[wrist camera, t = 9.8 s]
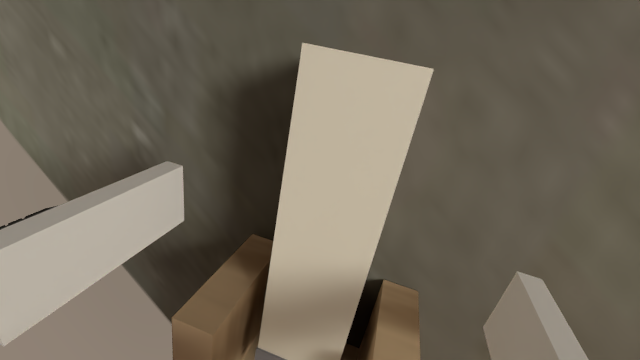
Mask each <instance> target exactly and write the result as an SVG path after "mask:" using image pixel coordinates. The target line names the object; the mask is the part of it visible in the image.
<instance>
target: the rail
mask: <svg viewBox="0 0 640 360" xmlns="http://www.w3.org/2000/svg"><path fill="white" fill-rule="evenodd" d="M433 70H434V69H431V68H426V67H421V66H416V65H411V64H406V63H401V62H396V61H391V60H386V59H381V58H376V57H371V56H366V55H361V54H356V53H351V52H346V51H341V50H336V49H331V48H326V47H321V46H316V45H311V44H306V43H302V50H301V57H300V63H299V70H298V77H297V84H296V91H295V97H294V104H293V111H292V118H291V125H290V132H289V138H288V145H287V152H286V159H285V166H284V172H283V179H282V186H281V193H280V200H279V207H278V213H277V220H276V227H275V234H274V241H273V247H272V254H271V261H270V268H269V275H268V282H267V288H266V295H265V302H264V309H263V316H262V322H261V329H260V336H259V343H258V346H257V348H256V352H255V359H254V360H340V359H341V356H342V353H343V350H344V347H345V344H346V340H347V337H348V334H349V331H350V328H351V325H352V322H353V319H354V316H355V312H356V309H357V306H358V303H359V300H360V297H361V294H362V291H363V288H364V284H365V281H366V278H367V275H368V272H369V269H370V266H371V263H372V260H373V257H374V253H375V250H376V247H377V244H378V241H379V238H380V235H381V232H382V229H383V225H384V222H385V219H386V216H387V213H388V210H389V207H390V204H391V201H392V198H393V194H394V191H395V188H396V185H397V182H398V179H399V176H400V173H401V170H402V166H403V163H404V160H405V157H406V154H407V151H408V148H409V145H410V142H411V138H412V135H413V132H414V129H415V126H416V123H417V120H418V117H419V114H420V111H421V107H422V104H423V101H424V98H425V95H426V92H427V89H428V86H429V83H430V79H431V76H432V73H433Z"/></svg>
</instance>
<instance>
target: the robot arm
mask: <svg viewBox="0 0 640 360" xmlns="http://www.w3.org/2000/svg"><path fill="white" fill-rule="evenodd" d="M183 221H184V194H183V166H181V165H178V164H175V163H172V162H169V161H166V162H164V163H161V164H159V165H157V166H154V167H152V168H149V169H147V170H144V171H142V172H139V173H137V174H135V175H132V176H130V177H127V178H125V179H122V180H120V181H118V182H115V183H113V184H110V185H108V186H105V187H103V188H100V189H98V190H96V191H93V192H91V193H88V194H86V195H83V196H81V197H79V198H76V199H74V200H71V201H69V202H66V203H64V204H62V205H59V206H55V207H51V208H46V209H43V210H41V211H39V212H36V213H33V214H31V215H28V216H26V217H25V218H24V219H18V220H16V221H13V222H11V223H9V224H8V225H7V226H5V225H4V226H1V227H0V344H1V345H2V346H5V345H6V344H7V343H9V342H10V341H12V340H13V339H15V338H16V337H18V336H19V335H20V334H22V333H24V332H25V331H26V330H28V329H29V328H30V327H32V326H33V325H35V324H36V323H38V322H39V321H41V320H42V319H44V318H45V317H47V316H48V315H49V314H51V313H52V312H54V311H55V310H57V309H58V308H59V307H61V306H62V305H64V304H65V303H66V302H68V301H69V300H71V299H72V298H74V297H75V296H77V295H78V294H79V293H81V292H82V291H84V290H85V289H87V288H88V287H89V286H91V285H92V284H94V283H95V282H97V281H98V280H100V279H101V278H102V277H104V276H105V275H107V274H108V273H110V272H111V271H112V270H114V269H115V268H117V267H118V266H120V265H121V264H123V263H124V262H125V261H127V260H128V259H130V258H131V257H133V256H134V255H135V254H137V253H138V252H140V251H141V250H143V249H144V248H145V247H147V246H148V245H150V244H151V243H153V242H154V241H156V240H157V239H158V238H160V237H161V236H163V235H164V234H166V233H167V232H168V231H170V230H171V229H173V228H174V227H176V226H177V225H178V224H180V223H181V222H183ZM483 330H484V334H485V337H486V341H487V345H488V349H489V353H490V357H491V360H588V358H587V356H586V355H585V353H584V351H583V349H582V348H581V346H580V344H579V343H578V341H577V339H576V337H575V336H574V334H573V332H572V330H571V329H570V327H569V325H568V323H567V322H566V320H565V318H564V316H563V315H562V313H561V311H560V309H559V308H558V306H557V304H556V303H555V301H554V299H553V297H552V296H551V294H550V292H549V290H548V289H547V287H546V285H545V283H544V282H543V280H542V279H539V278H536V277H533V276H530V275H527V274H524V273H520V272H516V274H515V276H514V277H513V279H512V281H511V282H510V284H509V286H508V287H507V289H506V290H505V292H504V294H503V295H502V297H501V299H500V300H499V302H498V304H497V305H496V307H495V308H494V310H493V312H492V313H491V315H490V317H489V318H488V320H487V322H486V323H485V325H484V326H483Z"/></svg>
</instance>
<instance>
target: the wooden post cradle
mask: <svg viewBox="0 0 640 360" xmlns="http://www.w3.org/2000/svg"><path fill="white" fill-rule="evenodd" d="M272 247H273V241H272V240H269V239H266V238H263V237H260V236H257V235H254V234H252V235H251V236H250V237H249V238H248V239H247V240H246V241H245V242H244V243H243V244H242V245H241V246H240V248H239V249H238V250H237V251H236V252H235V253H234V254H233V255H232V256H231V257H230V258H229V259H228V260H227V261H226V262H225V263H224V264H223V265H222V266H221V267H220V268H219V269H218V270H217V271H216V272H215V273H214V274H213V275H212V276H211V278H210V279H209V280H208V281H207V282H206V283H205V284H204V285H203V286H202V287H201V288H200V289H199V290H198V291H197V292H196V293H195V294H194V295H193V296H192V297H191V298H190V299H189V300H188V301H187V302H186V303H185V304H184V305H183V306H182V307H181V309H180V310H179V311H178V312H177V313H176V314H175V315H174V316H173V317H172V343H173V360H254V359H255V352H256V348H257V346H258V343H259V336H260V329H261V322H262V316H263V309H264V302H265V295H266V288H267V282H268V275H269V268H270V261H271V254H272ZM340 360H420V338H419V303H418V291H415V290H412V289H410V288H407V287H404V286H401V285H398V284H395V283H392V282H389V281H387V280H383V283H382V286H381V288H380V291H379V294H378V297H377V300H376V302H375V305H374V308H373V311H372V314H371V317H370V319H369V322H368V325H367V328H366V331H365V333H364V336H363V339H362V342H361V345H360V348H357V347H354V346H352V345H349V344H347V343H346V344H345V347H344V350H343V353H342V356H341V359H340Z"/></svg>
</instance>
